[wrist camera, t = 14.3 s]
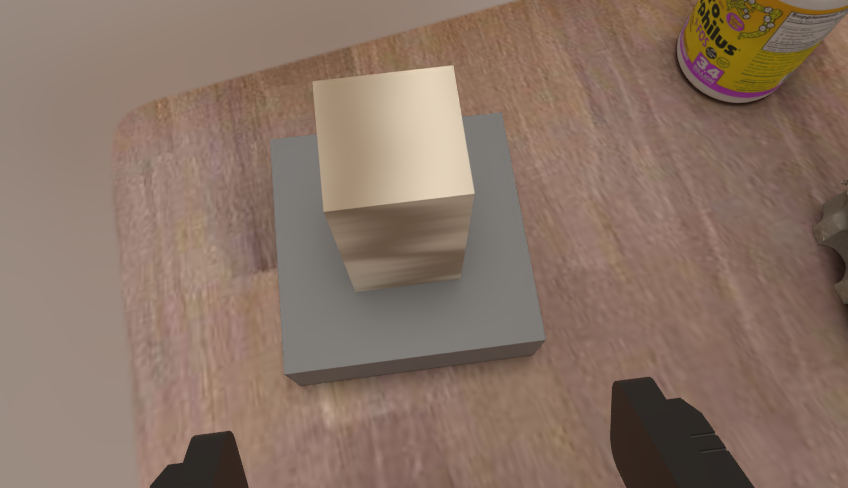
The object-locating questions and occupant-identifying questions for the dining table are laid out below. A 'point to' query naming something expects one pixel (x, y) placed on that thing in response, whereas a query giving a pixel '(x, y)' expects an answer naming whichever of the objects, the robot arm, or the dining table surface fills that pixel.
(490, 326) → the plinth
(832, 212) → the egg carton
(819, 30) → the supplement bottle
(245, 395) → the dining table surface
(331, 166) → the cream block
